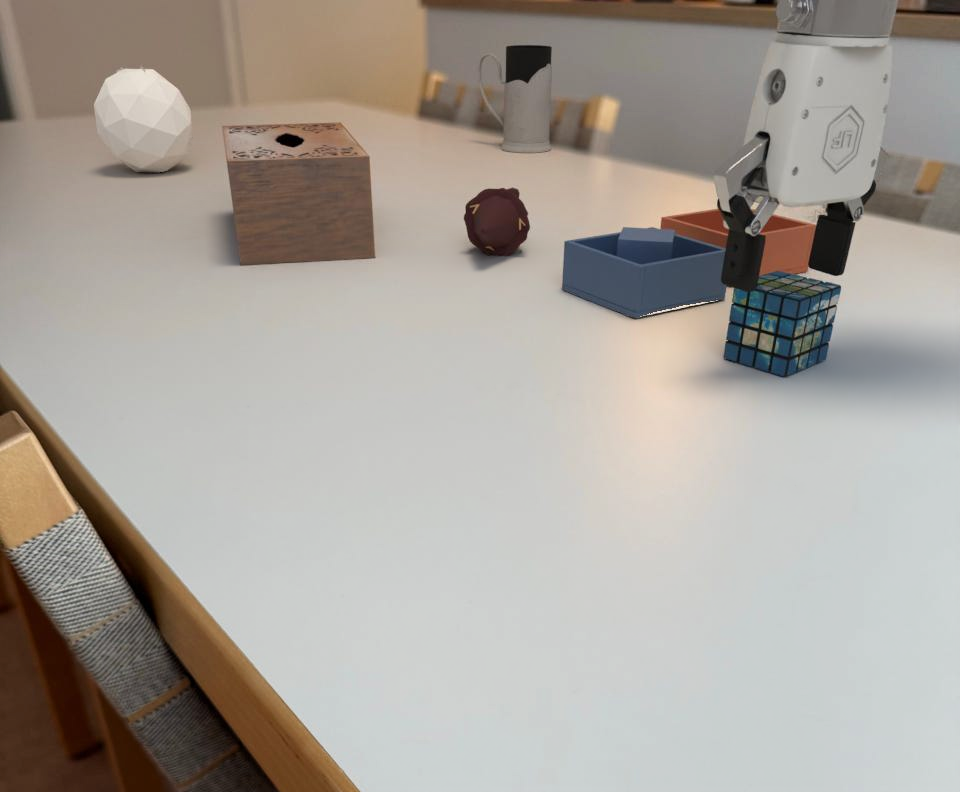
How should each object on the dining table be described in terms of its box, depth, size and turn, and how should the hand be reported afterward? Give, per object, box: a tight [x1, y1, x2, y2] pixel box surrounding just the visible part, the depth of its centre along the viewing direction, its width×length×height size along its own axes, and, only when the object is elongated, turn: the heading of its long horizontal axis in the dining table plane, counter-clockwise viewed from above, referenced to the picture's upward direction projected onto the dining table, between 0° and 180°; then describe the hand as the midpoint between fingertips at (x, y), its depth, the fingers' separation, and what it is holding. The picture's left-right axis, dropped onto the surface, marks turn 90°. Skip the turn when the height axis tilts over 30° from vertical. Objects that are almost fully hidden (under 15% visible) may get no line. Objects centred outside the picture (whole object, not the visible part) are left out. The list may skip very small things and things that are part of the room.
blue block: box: [617, 226, 675, 265], centre depth 92 cm, size 5×5×5 cm
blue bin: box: [561, 226, 728, 319], centre depth 92 cm, size 11×11×5 cm
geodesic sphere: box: [93, 63, 193, 173], centre depth 143 cm, size 15×14×14 cm
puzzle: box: [723, 271, 842, 378], centre depth 77 cm, size 6×6×6 cm
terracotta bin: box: [659, 208, 816, 276], centre depth 101 cm, size 11×11×5 cm
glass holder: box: [477, 44, 553, 154], centre depth 162 cm, size 9×14×15 cm, turn 57°
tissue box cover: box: [221, 122, 376, 266], centre depth 111 cm, size 26×14×10 cm, turn 13°
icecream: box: [463, 187, 531, 257], centre depth 104 cm, size 7×7×15 cm
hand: (782, 279), depth 75 cm, fingers open, 9 cm apart
